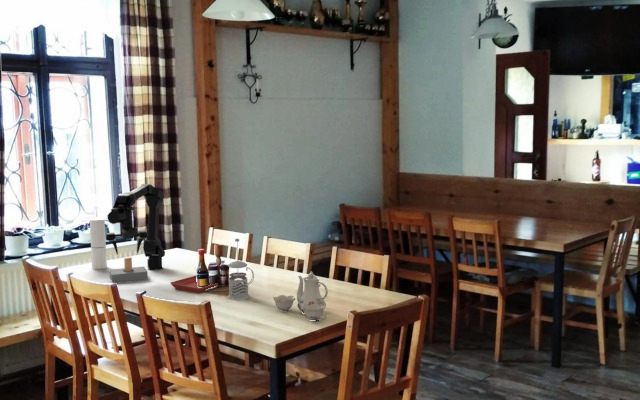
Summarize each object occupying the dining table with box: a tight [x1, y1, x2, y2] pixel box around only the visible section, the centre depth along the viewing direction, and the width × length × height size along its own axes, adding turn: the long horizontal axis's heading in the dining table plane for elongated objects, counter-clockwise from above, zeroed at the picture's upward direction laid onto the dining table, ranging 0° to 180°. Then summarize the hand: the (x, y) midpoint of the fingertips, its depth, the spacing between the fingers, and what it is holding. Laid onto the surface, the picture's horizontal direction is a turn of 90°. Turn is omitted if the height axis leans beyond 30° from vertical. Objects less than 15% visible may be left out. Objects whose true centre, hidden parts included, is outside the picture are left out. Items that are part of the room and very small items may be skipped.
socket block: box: [109, 266, 149, 284], centre depth 318 cm, size 16×12×4 cm
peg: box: [123, 256, 133, 272], centre depth 317 cm, size 3×3×10 cm
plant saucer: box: [170, 275, 218, 294], centre depth 300 cm, size 18×18×3 cm
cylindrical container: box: [89, 217, 108, 270], centre depth 342 cm, size 7×7×25 cm
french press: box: [226, 238, 255, 301], centre depth 282 cm, size 10×12×25 cm
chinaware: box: [272, 271, 328, 321], centre depth 257 cm, size 28×17×17 cm, turn 47°
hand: (127, 253), depth 316 cm, fingers open, 9 cm apart
